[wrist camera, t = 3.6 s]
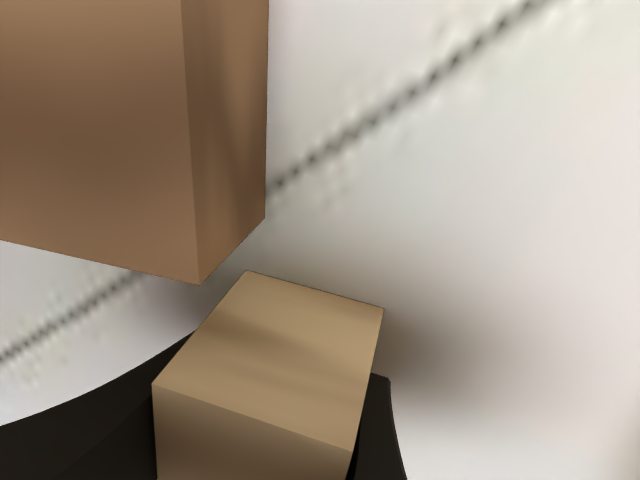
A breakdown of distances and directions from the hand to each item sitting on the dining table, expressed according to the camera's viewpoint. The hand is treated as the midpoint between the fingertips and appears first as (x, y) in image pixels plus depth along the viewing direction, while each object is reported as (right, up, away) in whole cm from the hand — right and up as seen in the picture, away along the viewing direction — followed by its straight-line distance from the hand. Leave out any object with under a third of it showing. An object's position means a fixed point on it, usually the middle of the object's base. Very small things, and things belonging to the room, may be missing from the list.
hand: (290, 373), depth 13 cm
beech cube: (0, +1, +1) cm, 1 cm away
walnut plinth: (-3, +8, -1) cm, 9 cm away
